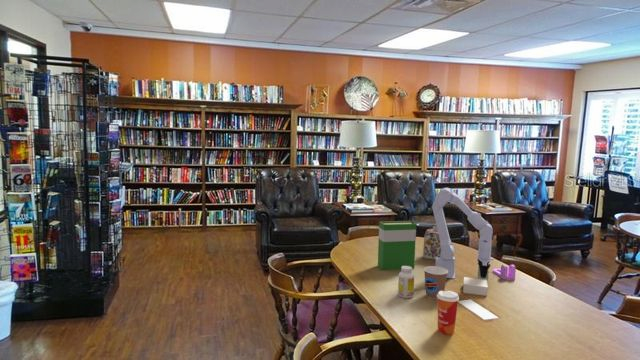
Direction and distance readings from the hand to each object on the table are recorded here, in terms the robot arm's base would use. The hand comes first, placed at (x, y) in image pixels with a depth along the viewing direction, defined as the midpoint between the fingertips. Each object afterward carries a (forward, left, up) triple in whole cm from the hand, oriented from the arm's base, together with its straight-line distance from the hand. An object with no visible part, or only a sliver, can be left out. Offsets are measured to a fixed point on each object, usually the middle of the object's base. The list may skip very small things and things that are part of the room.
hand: (482, 275), depth 203 cm
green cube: (0, 0, -2) cm, 2 cm away
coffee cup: (-21, -29, -3) cm, 36 cm away
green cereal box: (-43, +5, -3) cm, 43 cm away
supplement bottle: (-33, -33, -3) cm, 47 cm away
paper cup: (-15, -61, -3) cm, 63 cm away
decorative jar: (-24, +31, -3) cm, 39 cm away
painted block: (-4, -15, -3) cm, 16 cm away
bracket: (+10, +13, -3) cm, 17 cm away
